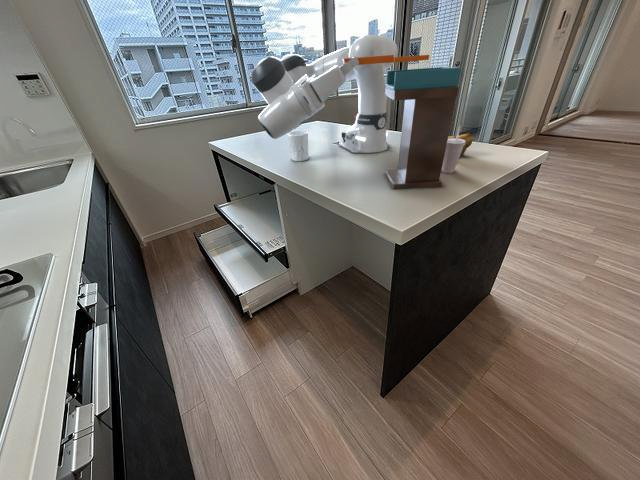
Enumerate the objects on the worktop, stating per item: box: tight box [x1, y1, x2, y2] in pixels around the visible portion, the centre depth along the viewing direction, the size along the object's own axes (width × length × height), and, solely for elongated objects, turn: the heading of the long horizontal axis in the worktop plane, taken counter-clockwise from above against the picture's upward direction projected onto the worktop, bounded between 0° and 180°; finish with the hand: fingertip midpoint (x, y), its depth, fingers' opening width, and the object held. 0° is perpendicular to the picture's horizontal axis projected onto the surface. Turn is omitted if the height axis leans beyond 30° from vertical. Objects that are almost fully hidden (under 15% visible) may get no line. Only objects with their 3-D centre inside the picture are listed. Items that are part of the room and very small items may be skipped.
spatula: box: [343, 54, 430, 65], centre depth 64 cm, size 20×6×2 cm, turn 88°
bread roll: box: [448, 133, 474, 157], centre depth 97 cm, size 13×10×8 cm
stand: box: [385, 86, 460, 190], centre depth 75 cm, size 16×13×26 cm
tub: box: [385, 66, 462, 91], centre depth 67 cm, size 15×11×4 cm
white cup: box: [287, 130, 310, 162], centre depth 105 cm, size 8×8×10 cm
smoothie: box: [441, 125, 466, 174], centre depth 82 cm, size 6×6×14 cm
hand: (356, 59), depth 65 cm, fingers closed on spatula, 3 cm apart
